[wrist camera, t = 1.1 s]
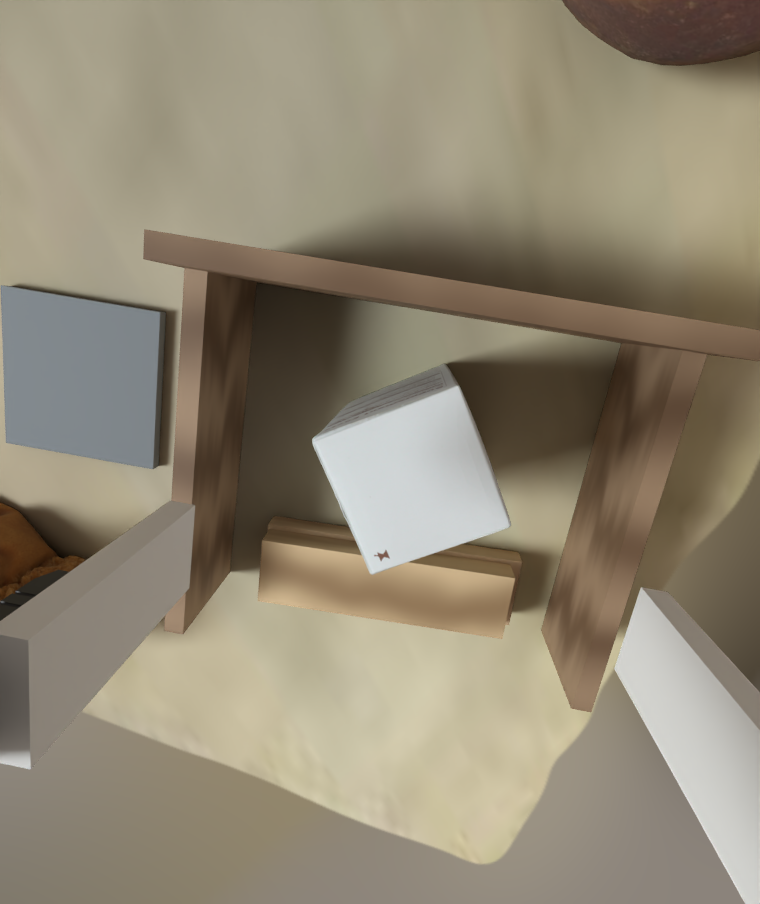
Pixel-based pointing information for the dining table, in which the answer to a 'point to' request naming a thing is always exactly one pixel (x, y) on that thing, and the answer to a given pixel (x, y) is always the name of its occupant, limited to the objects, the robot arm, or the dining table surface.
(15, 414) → the slate mat
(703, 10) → the chicken drumstick
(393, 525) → the supplement box
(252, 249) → the walnut rack
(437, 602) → the offcut stack
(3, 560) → the stuffed squirrel
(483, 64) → the dining table surface
